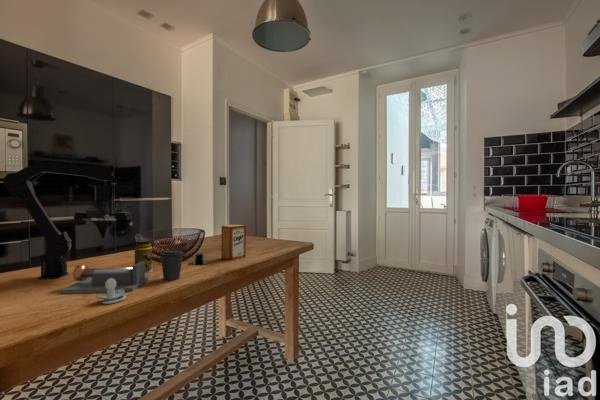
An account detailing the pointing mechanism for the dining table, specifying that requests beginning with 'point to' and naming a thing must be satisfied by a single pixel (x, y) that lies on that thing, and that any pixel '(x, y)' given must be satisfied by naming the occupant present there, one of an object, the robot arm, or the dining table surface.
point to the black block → (198, 259)
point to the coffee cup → (171, 264)
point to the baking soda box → (233, 242)
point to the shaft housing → (97, 282)
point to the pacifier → (112, 293)
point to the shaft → (94, 271)
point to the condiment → (144, 254)
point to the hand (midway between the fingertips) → (103, 238)
